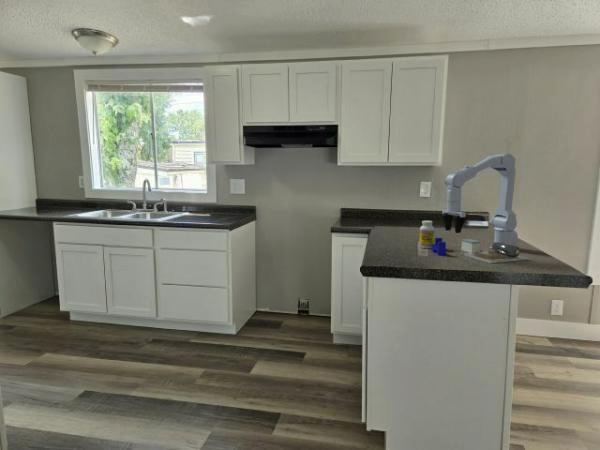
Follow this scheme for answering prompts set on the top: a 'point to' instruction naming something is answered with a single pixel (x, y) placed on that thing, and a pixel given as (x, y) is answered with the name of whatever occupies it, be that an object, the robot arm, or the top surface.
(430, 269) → the top surface
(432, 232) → the supplement bottle
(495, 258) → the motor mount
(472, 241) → the block
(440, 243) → the cable clip
